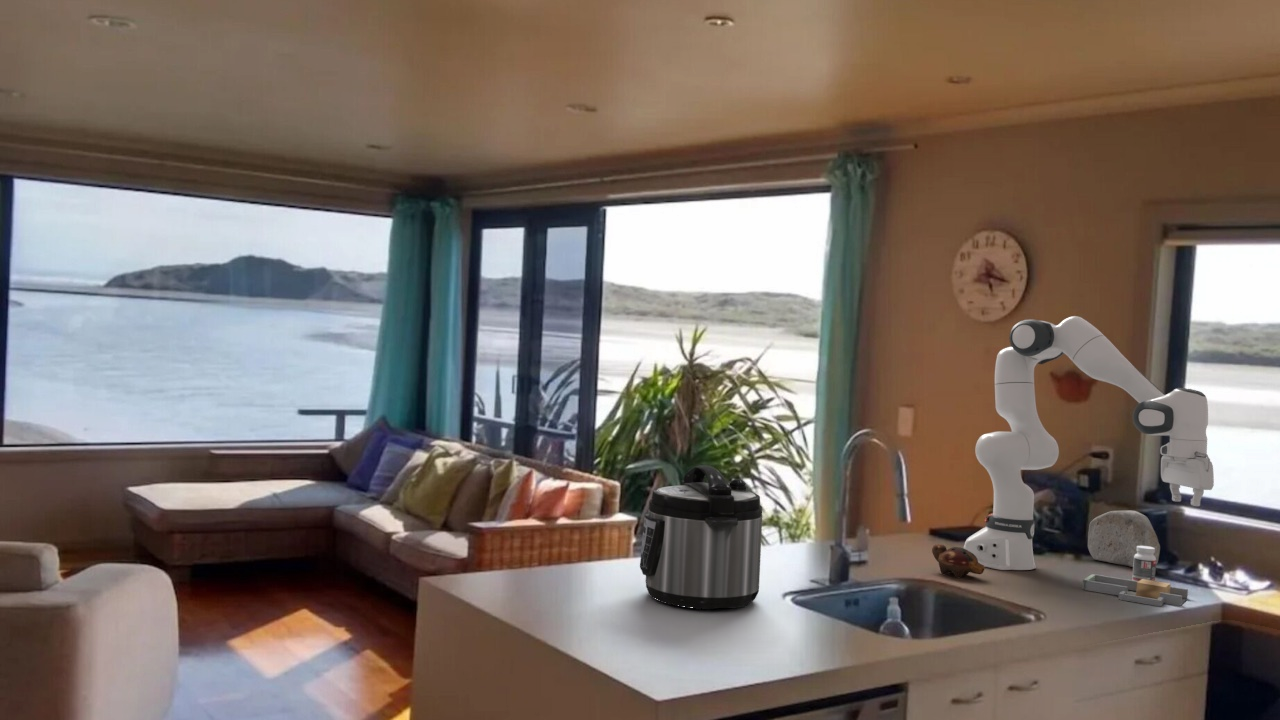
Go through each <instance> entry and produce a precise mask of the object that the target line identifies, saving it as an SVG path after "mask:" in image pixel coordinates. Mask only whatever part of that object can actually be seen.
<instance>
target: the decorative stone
mask: <svg viewBox="0 0 1280 720" xmlns="http://www.w3.org/2000/svg"><path fill="white" fill-rule="evenodd" d="M1088 526H1089V527H1088V533H1087V549H1088V551H1089V554H1090V556H1091V557H1092V558H1093V559H1094V560H1095V561H1100V562H1103V563H1104V562H1105V563H1111V564H1115V565H1120V566H1126V567H1130V568H1133V563H1134V555H1135V554H1137V550H1136V549H1137V546H1149V547H1153V548H1155V553H1154V554H1153V555H1154V556H1155V557H1156V565H1158V562H1159V558H1160V551H1161V545H1160V543H1159V539H1158V536H1157V534H1156V531H1155V530H1154V527H1153V525H1152V523H1151V521H1150V520H1149V518H1148V516H1146V515H1144V514H1143V513H1141V512H1139V511H1137V510H1128V509H1127V510H1110V511H1108V512H1105V513H1103V514H1100V515H1098V516H1096V517H1095V518H1093V519H1092V520H1091V521H1090V523H1089V525H1088Z"/></svg>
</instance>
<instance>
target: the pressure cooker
mask: <svg viewBox="0 0 1280 720" xmlns="http://www.w3.org/2000/svg"><path fill="white" fill-rule="evenodd" d="M706 480H707V482H706ZM651 494H652V496H651V499H650V500H649V501H648V504H649V505H648V506H649V507H648V511H647V512H645V513H644V518H643V529H642V538H641V549H640V561H639V568H640V570H641V572H642V575H644V576H645V581H644V582H645V588H646V590H647V592H648V594H650V595H651V596H652V597H654V598H656V599H658V600H660V601H663V602H666V603H665V604H667V603H669V604H668V605H671V604H674V605H673V606H676V605H679V606H685V607H693V608H696V609H701V608H702V609H705V610H712V609H716V608H717V609H718V608H719V609H722V608H724V609H735V608H742V607H745V606H747V605H749V603H751V602H754V601H755V600H756V598H757V596H758V594H759V591H760V573H761V555H762V554H761V553H762V551H761V550H762V533H763V531H762V529H763V527H762V526H763V506H762V505H761V496H760V495H759V494H758V493H756V492H752V491H749V490H747V485H746V482H745V481H744V480H743V479H740V478H734V479H732V480H731V481H730V482H728V480H726V478H725V477H724V475H723V474H722V473H721V471H719V470H718V469H717V468H715V467H714V466H711V465H708V464H707V465H706V464H705V465H703V464H701V465H696V466H694V467H692V468H691V469H689V470H688V471H687V472H686V473H685V474H684V475H683V480H681V481H680V484H679V485H670V486H669V485H667V486H662V487H656V488H654V489H653V490H652V493H651ZM651 596H650V597H651ZM652 597H651V598H652ZM654 598H653V599H654ZM658 600H657V601H658ZM660 601H659V602H660ZM663 602H662V603H663ZM693 608H692V609H693Z"/></svg>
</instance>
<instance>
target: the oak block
mask: <svg viewBox="0 0 1280 720" xmlns="http://www.w3.org/2000/svg"><path fill="white" fill-rule="evenodd" d="M1170 586H1171V583H1169V582H1163V581H1157V580H1155V581H1152V580H1146V579H1141V580H1140V581H1138V582H1137V591H1135V596H1140V597H1146V598H1152V599H1158V598H1159V597H1160V592H1162V593H1169V594H1170Z"/></svg>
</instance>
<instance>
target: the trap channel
mask: <svg viewBox="0 0 1280 720" xmlns="http://www.w3.org/2000/svg"><path fill="white" fill-rule="evenodd" d="M1137 582H1138V581H1134V580H1132V579H1127V578H1122V577H1121V578H1120V577H1115V576H1109V575H1108V576H1107V575H1102V574H1097V573H1092V574H1090V575H1089V576H1087V577H1085V578H1084V579H1083V580H1082V590H1084V591H1088V592H1089V591H1090V592H1094V593H1096V592H1097V593H1101V594H1108V595H1113V596H1118V600H1119V599H1120V601H1126V602H1133V603H1136V604H1137V603H1138V604H1144V605H1150V606H1156V607H1161V606H1163V605H1164V604H1166V605H1173V606H1178V607H1181V606H1183V604H1184V603H1185V602H1187V600H1188V595H1189V594H1188V593H1189V589H1188V588H1183V587H1176V586H1171V585H1170V594H1169V593H1162V592H1160V597H1159V598H1158V599H1152V598H1146V597H1140V596H1136V595H1133V594H1128V590H1129V591H1133V592H1136V591H1137Z"/></svg>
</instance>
